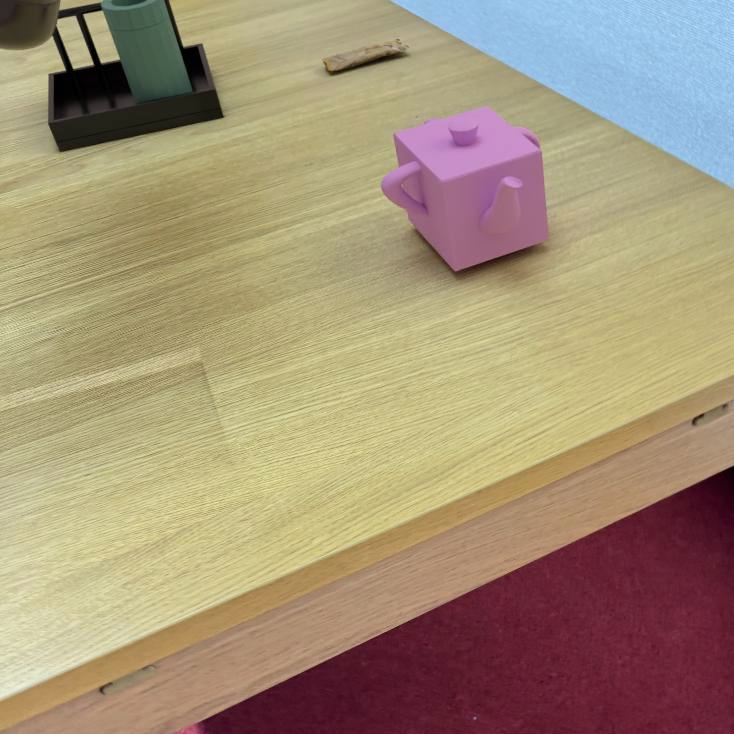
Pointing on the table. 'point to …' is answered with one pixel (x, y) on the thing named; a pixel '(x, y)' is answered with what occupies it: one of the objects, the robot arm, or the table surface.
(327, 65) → the snack bar
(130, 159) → the table surface
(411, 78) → the table surface
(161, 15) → the jar
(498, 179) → the teapot
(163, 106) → the dish rack
